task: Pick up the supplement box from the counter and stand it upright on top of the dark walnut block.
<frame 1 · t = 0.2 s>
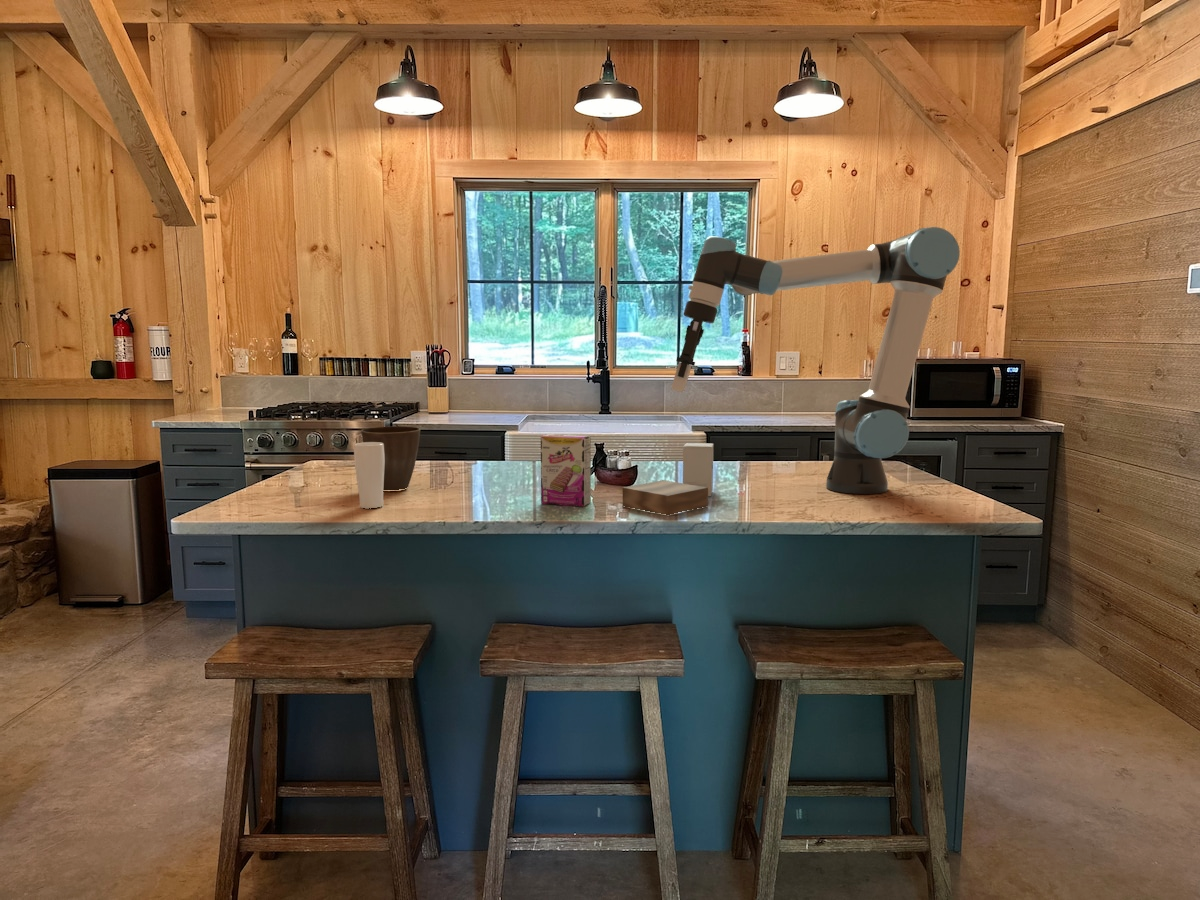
hand: (677, 390, 188), 27 cm above the countertop, tool tilted 15°, fingers open, 13 cm apart
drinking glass: (371, 508, 183), on the countertop
walnut base block: (665, 508, 182), on the countertop
plant pot: (393, 490, 206), on the countertop
supplement box: (697, 494, 198), on the countertop
candy bar box: (566, 504, 186), on the countertop
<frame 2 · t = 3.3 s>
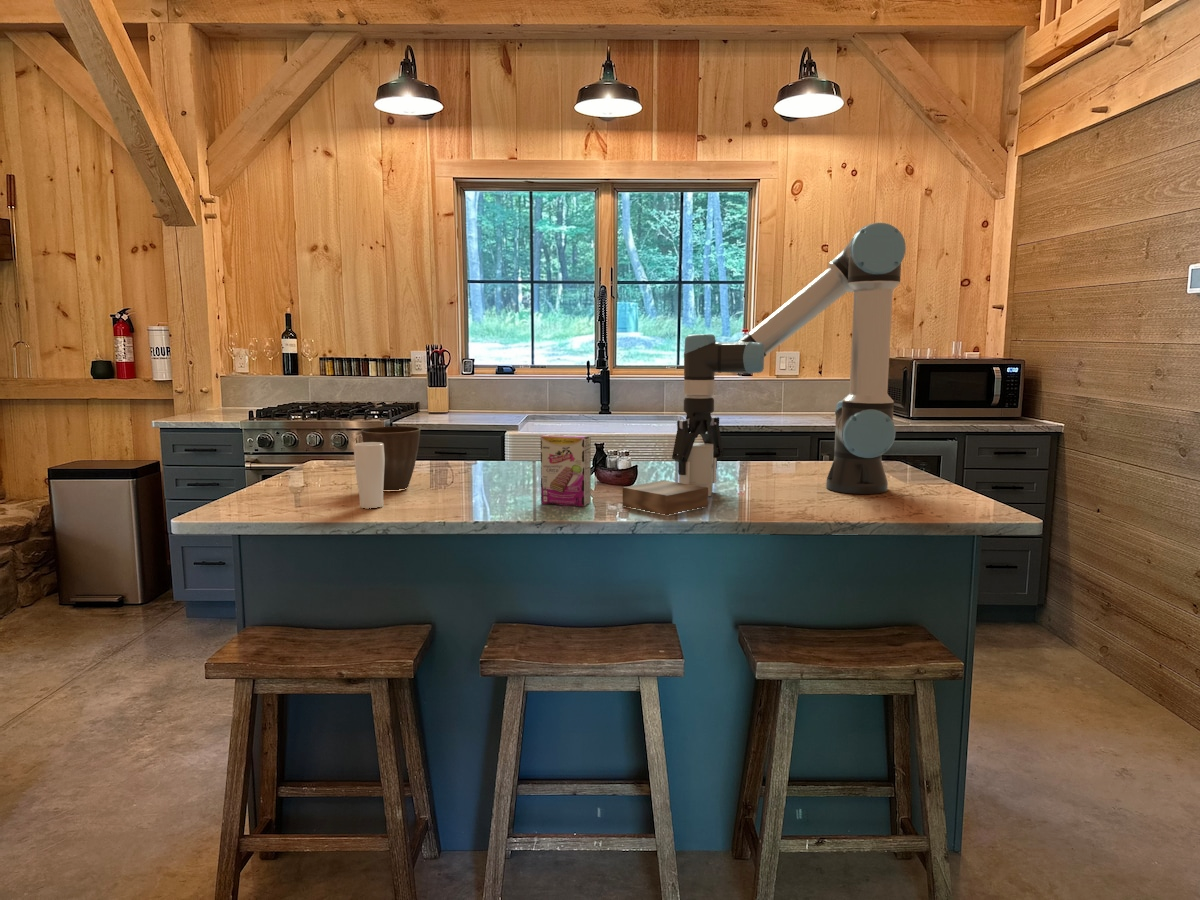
hand: (697, 485, 198), 2 cm above the countertop, tool pointing down, fingers closed on supplement box, 10 cm apart
supplement box: (697, 494, 198), on the countertop, touching gripper
everything else where it was.
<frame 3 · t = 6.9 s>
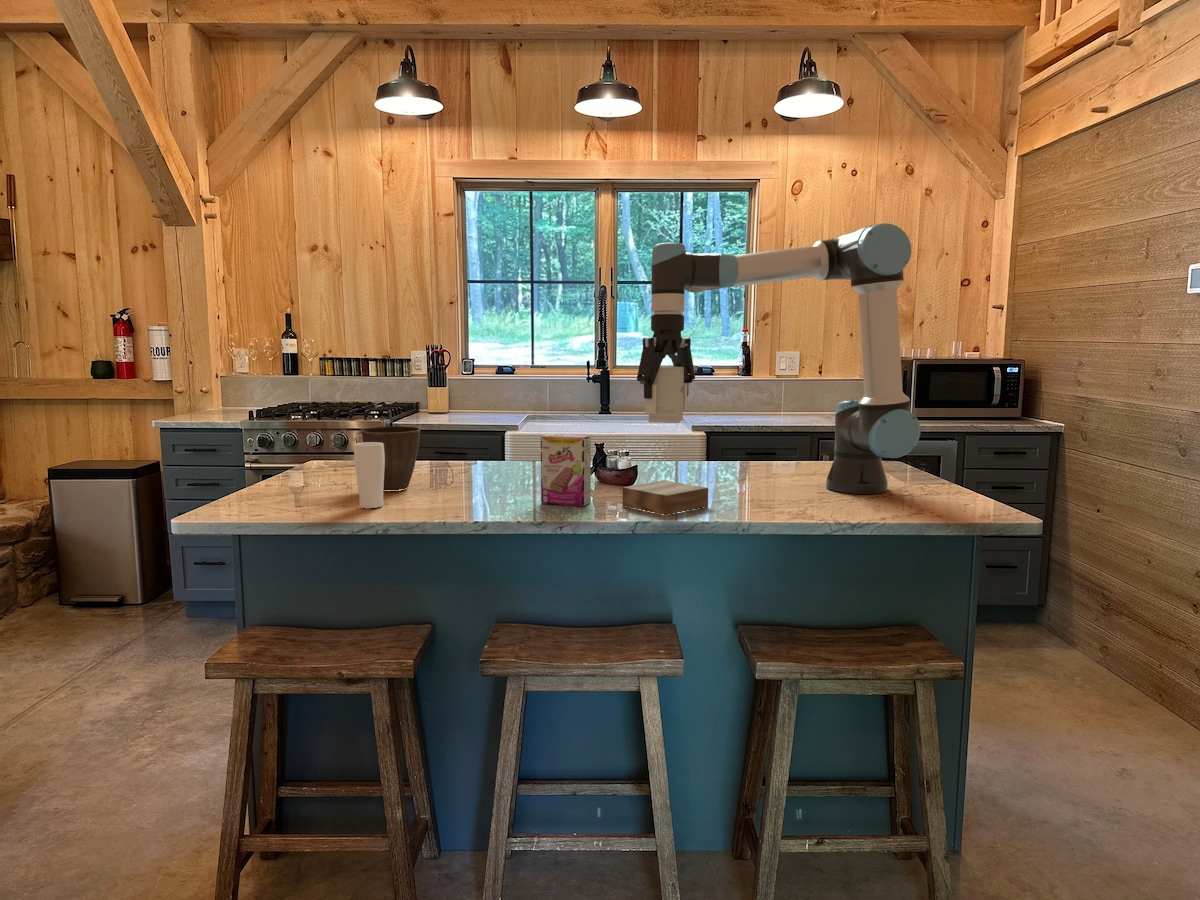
hand: (666, 412, 180), 22 cm above the countertop, tool pointing down, fingers closed on supplement box, 10 cm apart
supplement box: (666, 422, 180), point 20 cm above the countertop, touching gripper
everything else where it was.
when the fingers open (9 cm above the countertop, at t = 10.4 s): supplement box drops 2 cm, point 4 cm above the countertop.
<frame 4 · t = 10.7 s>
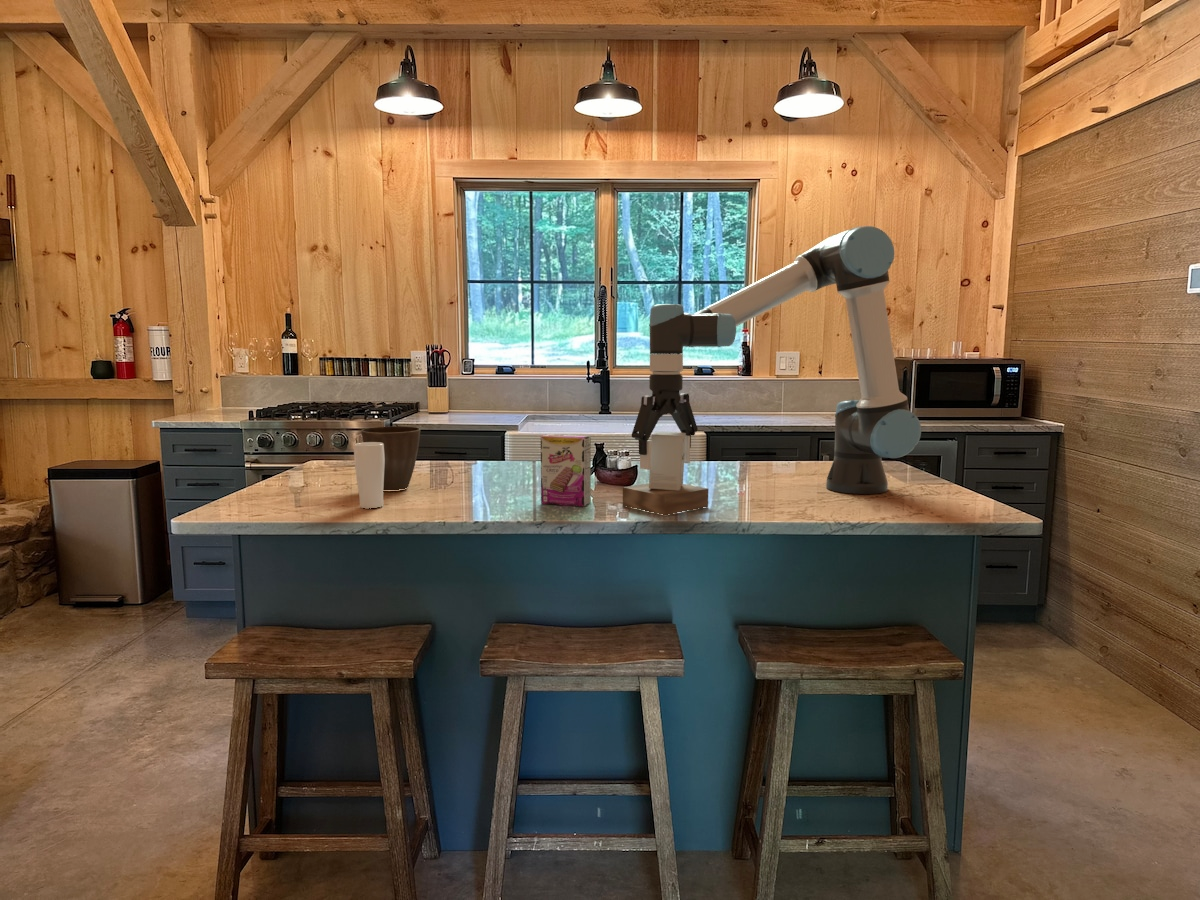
hand: (665, 465, 181), 10 cm above the countertop, tool pointing down, fingers open, 13 cm apart
supplement box: (666, 488, 182), point 4 cm above the countertop
everything else where it was.
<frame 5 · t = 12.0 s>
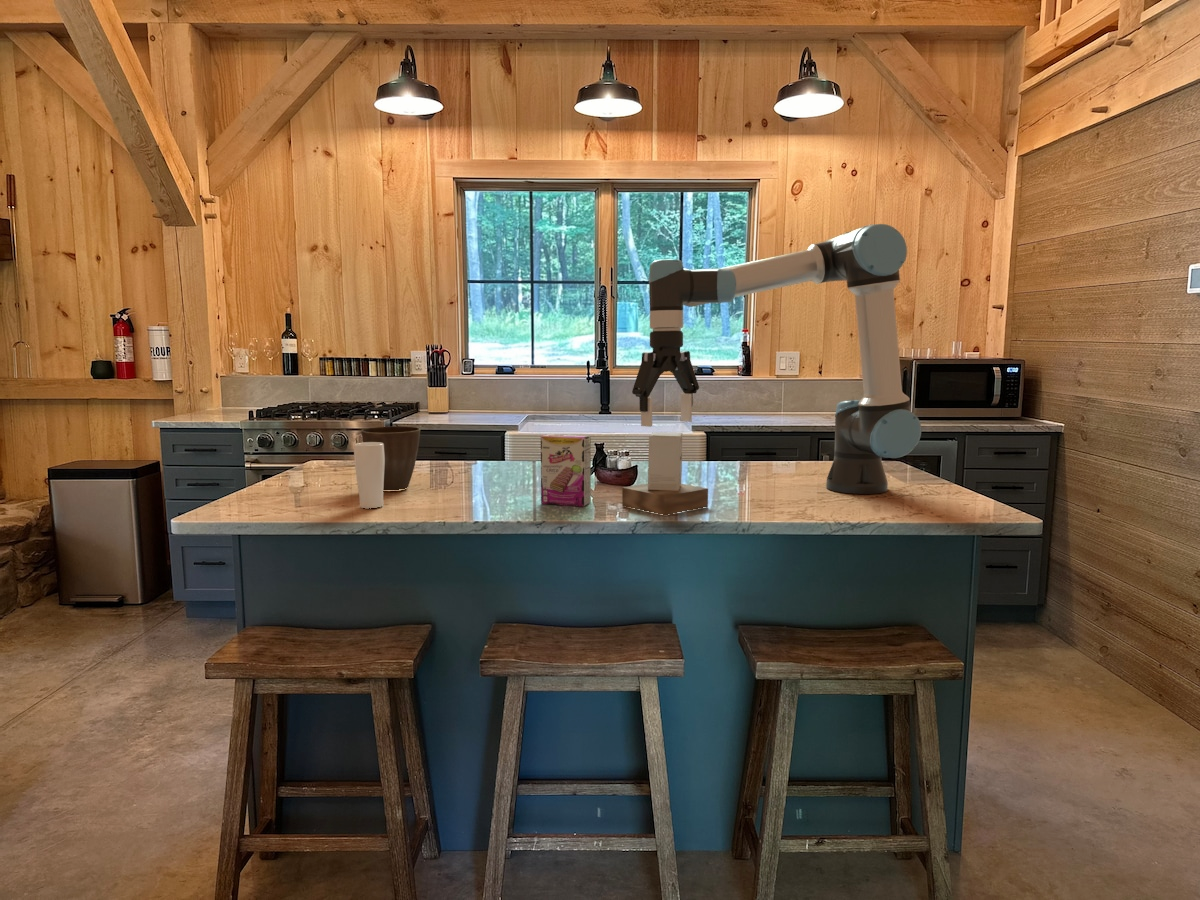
hand: (667, 423, 180), 19 cm above the countertop, tool pointing down, fingers open, 13 cm apart
walnut base block: (664, 509, 182), on the countertop, touching supplement box
supplement box: (664, 488, 181), point 4 cm above the countertop, touching walnut base block
everything else where it was.
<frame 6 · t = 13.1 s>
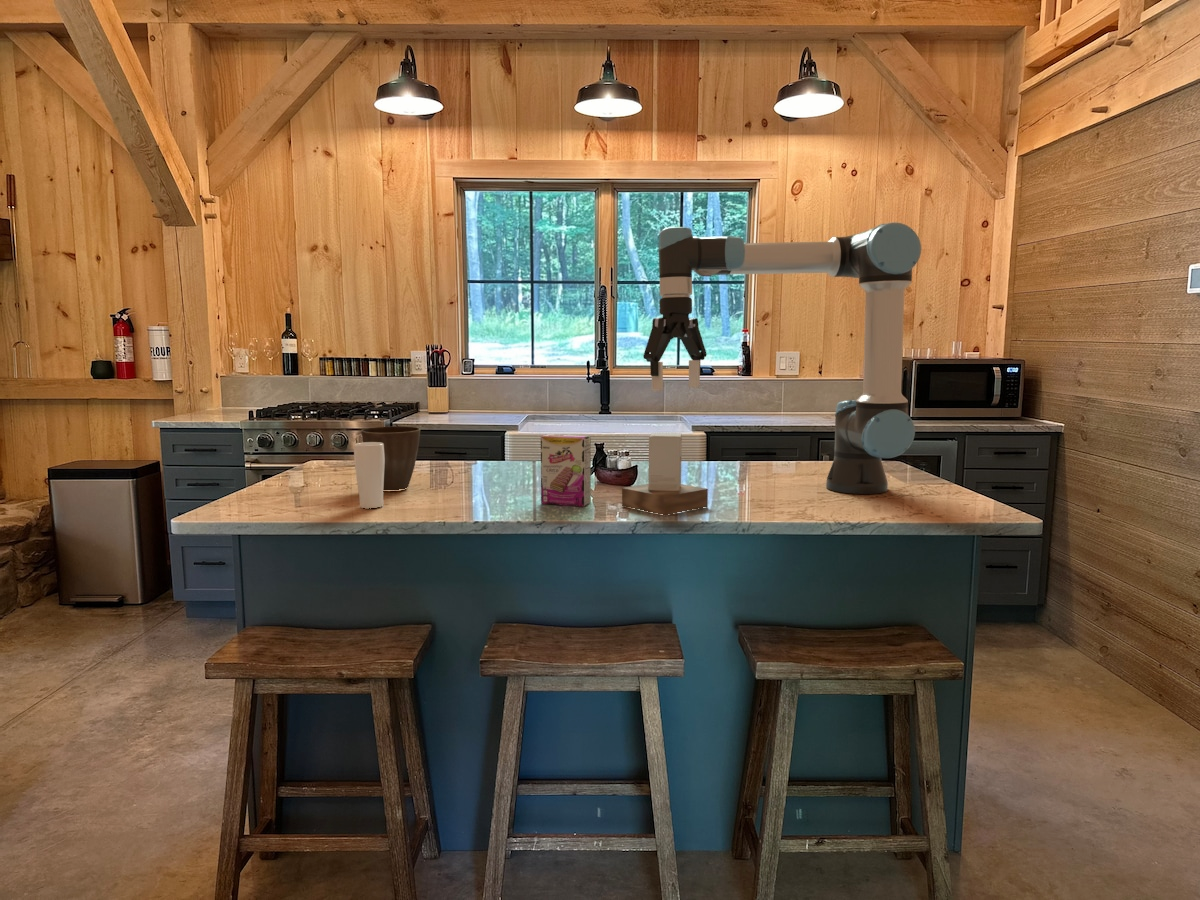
hand: (676, 389, 184), 27 cm above the countertop, tool pointing down, fingers open, 13 cm apart
nothing on the countertop moved.
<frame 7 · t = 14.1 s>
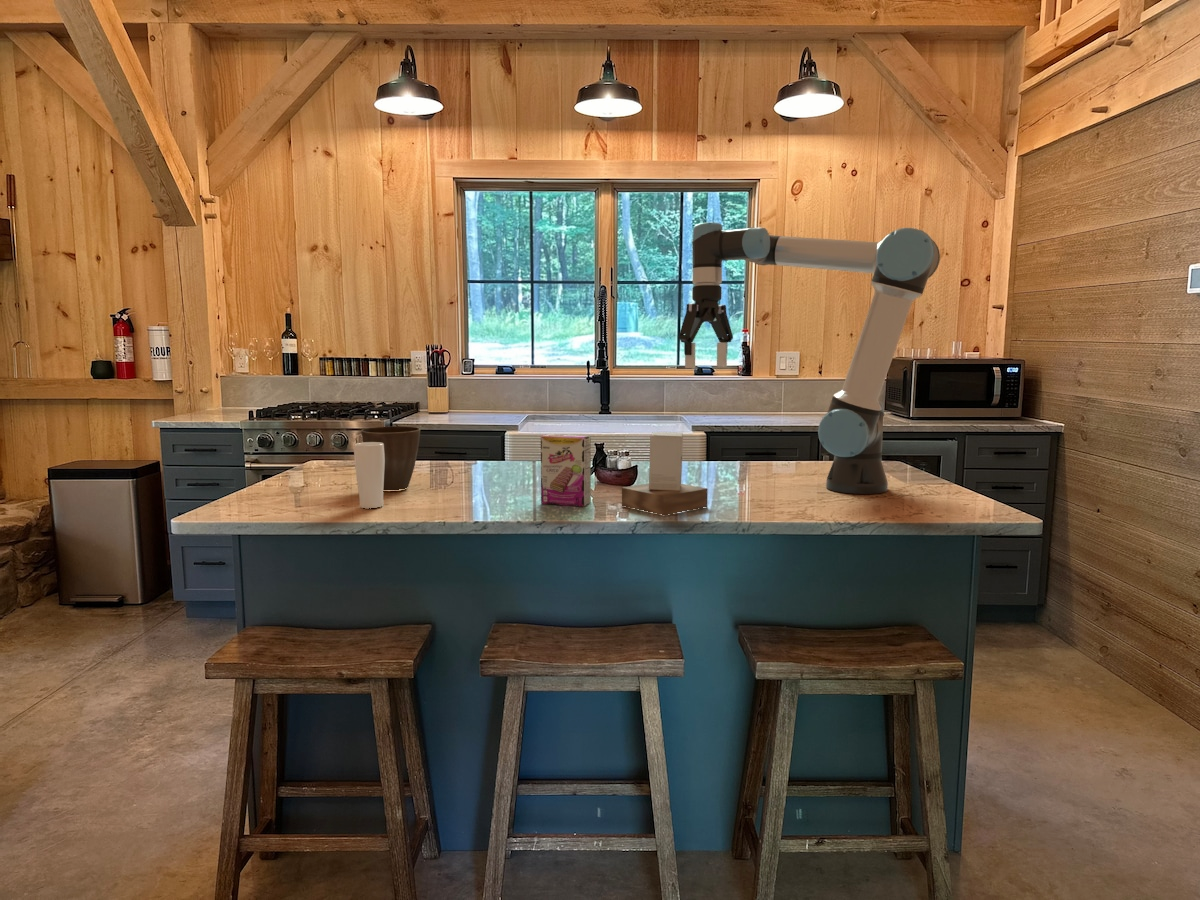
hand: (706, 367, 205), 31 cm above the countertop, tool pointing down, fingers open, 13 cm apart
nothing on the countertop moved.
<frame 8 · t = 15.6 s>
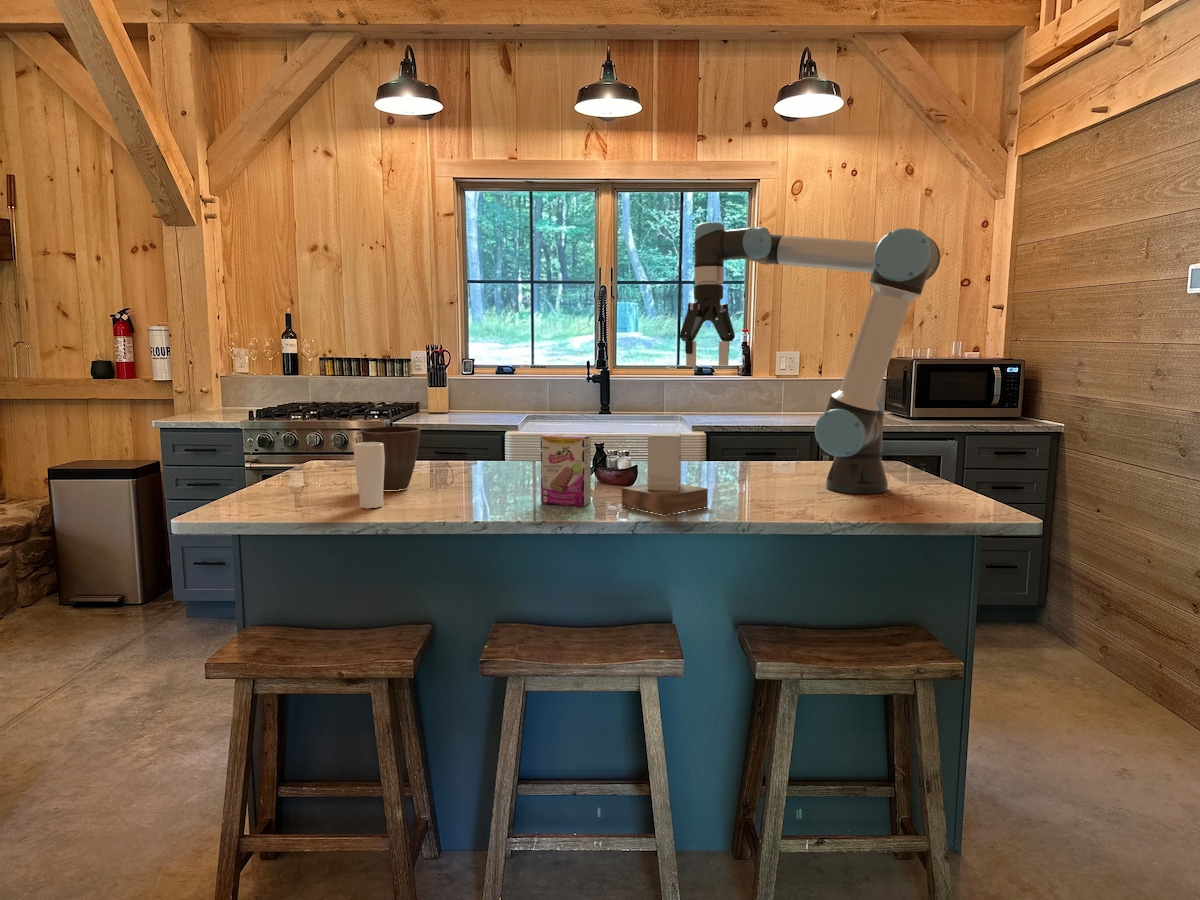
hand: (707, 366, 207), 32 cm above the countertop, tool pointing down, fingers open, 13 cm apart
nothing on the countertop moved.
at the end: supplement box inside the target area on the walnut base block (0.2 cm from its centre), point 4.8 cm above the walnut base block's base; supplement box tilted 0°; supplement box touching walnut base block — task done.
